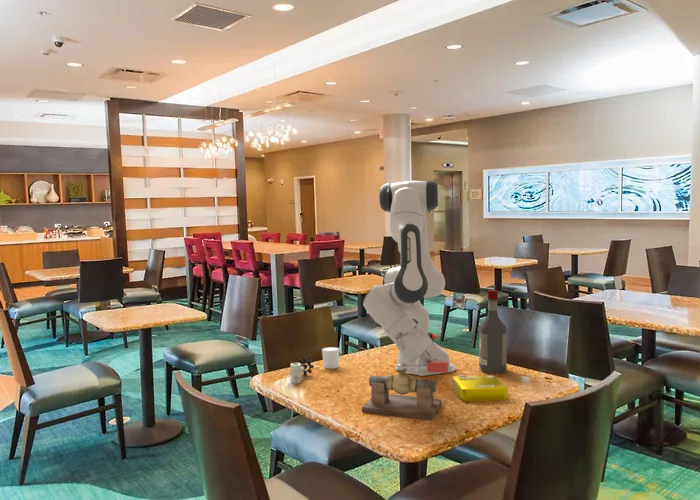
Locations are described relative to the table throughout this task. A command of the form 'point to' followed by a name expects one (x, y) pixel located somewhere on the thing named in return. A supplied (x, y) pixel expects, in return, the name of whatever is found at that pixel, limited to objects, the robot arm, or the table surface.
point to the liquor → (492, 339)
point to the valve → (299, 370)
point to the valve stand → (402, 397)
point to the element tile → (479, 388)
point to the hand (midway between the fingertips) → (433, 364)
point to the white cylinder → (330, 357)
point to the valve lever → (425, 366)
